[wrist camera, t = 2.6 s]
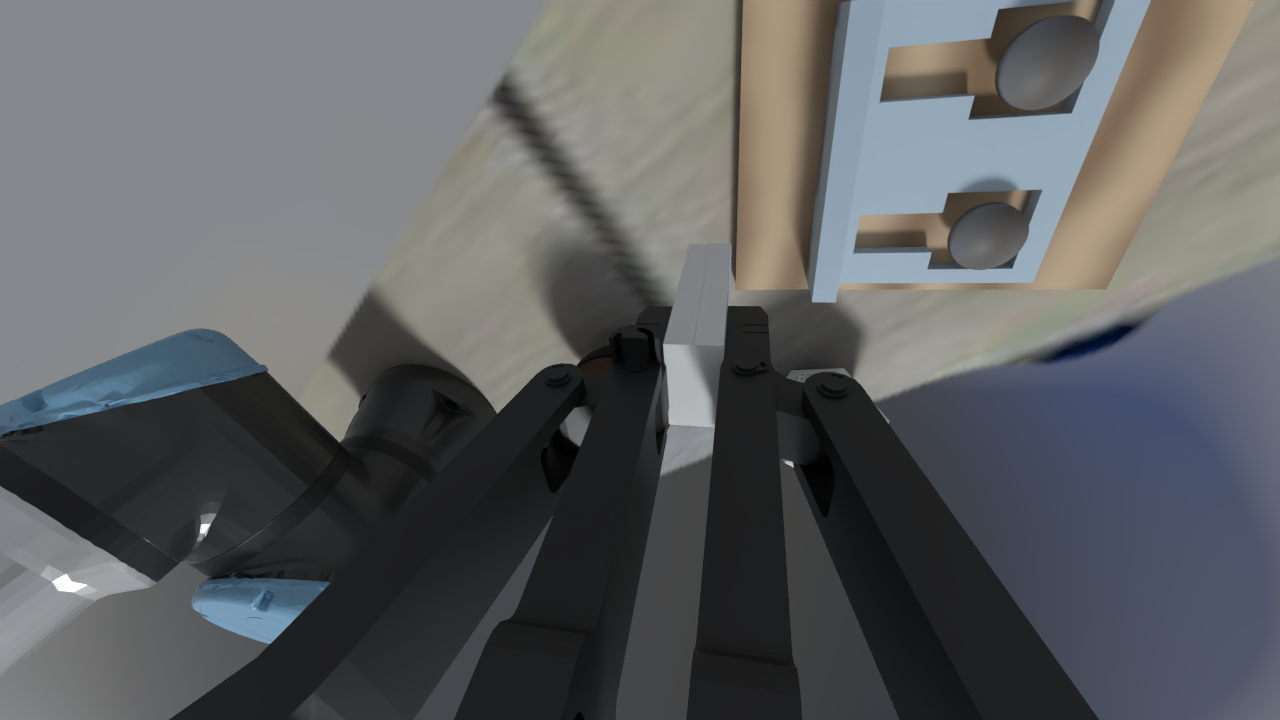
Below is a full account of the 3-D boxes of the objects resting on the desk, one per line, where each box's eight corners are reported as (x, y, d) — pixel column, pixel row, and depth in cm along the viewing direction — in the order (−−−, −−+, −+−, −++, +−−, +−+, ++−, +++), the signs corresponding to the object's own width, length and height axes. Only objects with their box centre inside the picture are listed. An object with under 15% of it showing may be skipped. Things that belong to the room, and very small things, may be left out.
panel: (805, 277, 34) (811, 302, 31) (838, 2, 25) (850, 0, 22) (1025, 276, 32) (1055, 303, 29) (1150, -33, 23) (1213, -41, 20)
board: (735, 282, 37) (734, 304, 34) (743, -9, 27) (743, -11, 24) (1095, 281, 32) (1128, 305, 29) (1271, -73, 22) (1348, -87, 19)
